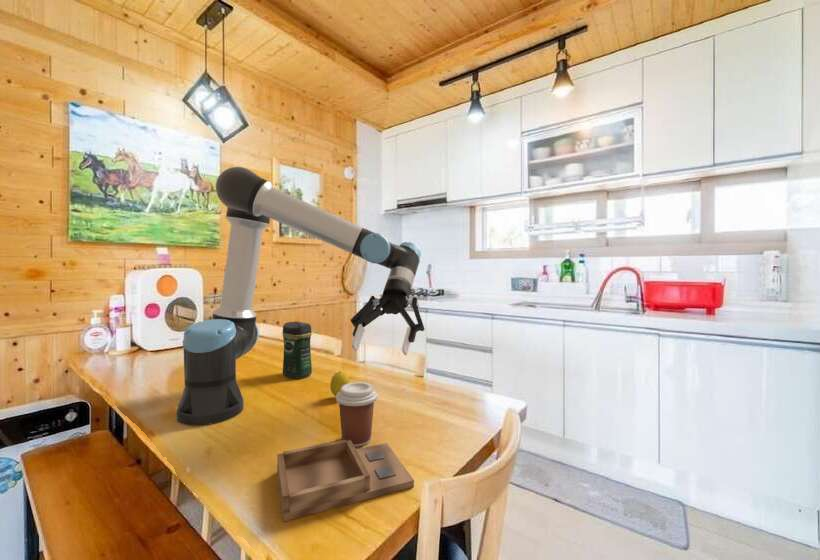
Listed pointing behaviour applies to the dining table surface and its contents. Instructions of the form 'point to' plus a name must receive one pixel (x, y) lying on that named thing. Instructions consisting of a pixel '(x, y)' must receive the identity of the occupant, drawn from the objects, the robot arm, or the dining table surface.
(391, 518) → the dining table surface
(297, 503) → the wooden tray
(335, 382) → the lemon
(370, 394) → the coffee cup
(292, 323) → the coffee jar
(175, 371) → the dining table surface
